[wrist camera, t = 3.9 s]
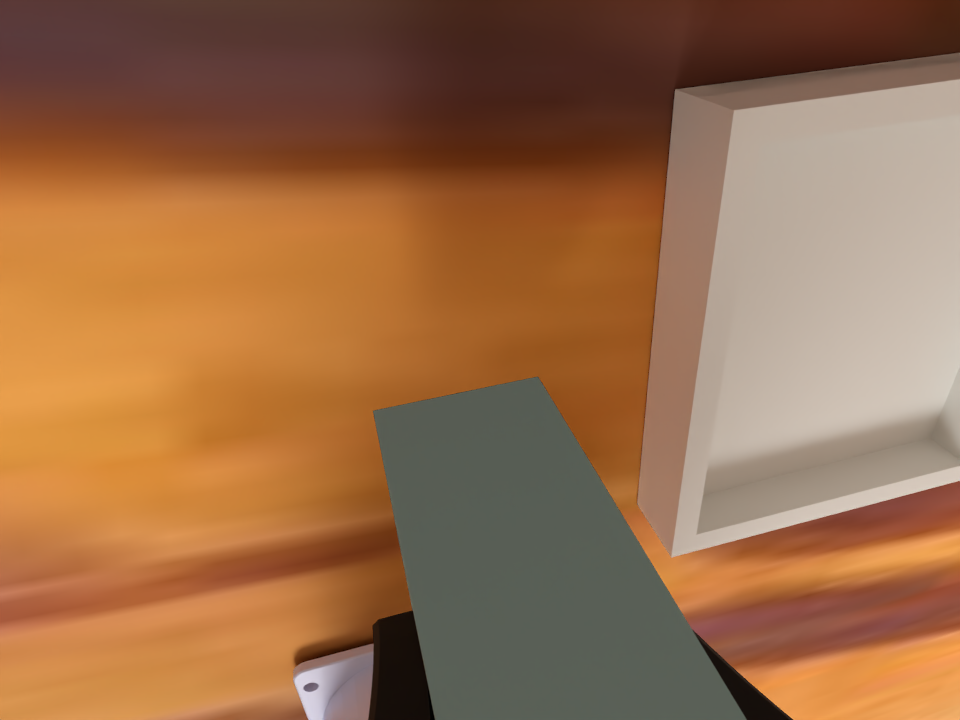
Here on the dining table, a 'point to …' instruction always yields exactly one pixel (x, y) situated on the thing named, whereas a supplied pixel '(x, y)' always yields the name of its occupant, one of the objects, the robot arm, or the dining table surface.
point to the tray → (805, 301)
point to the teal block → (531, 571)
